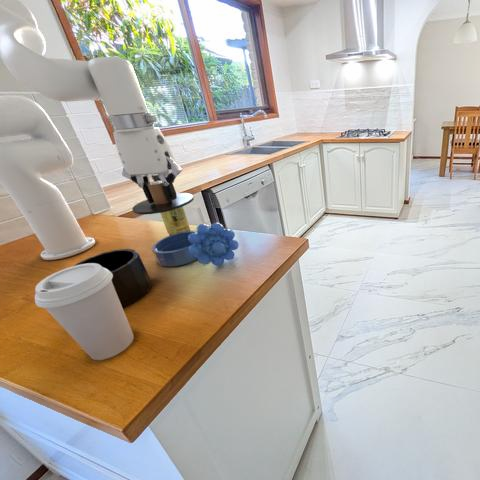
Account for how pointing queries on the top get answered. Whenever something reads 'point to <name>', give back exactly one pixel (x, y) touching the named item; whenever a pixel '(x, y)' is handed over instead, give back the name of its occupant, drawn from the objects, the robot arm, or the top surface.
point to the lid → (161, 200)
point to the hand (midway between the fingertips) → (163, 199)
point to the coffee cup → (87, 309)
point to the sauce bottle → (174, 217)
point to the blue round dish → (174, 250)
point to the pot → (124, 274)
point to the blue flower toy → (212, 244)
